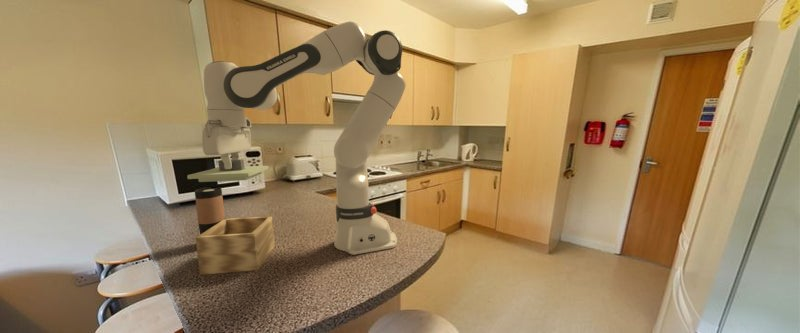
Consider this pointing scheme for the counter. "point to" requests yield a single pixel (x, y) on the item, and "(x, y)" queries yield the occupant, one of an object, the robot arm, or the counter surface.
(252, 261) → the box
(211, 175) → the lid
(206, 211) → the travel mug
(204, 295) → the counter surface
